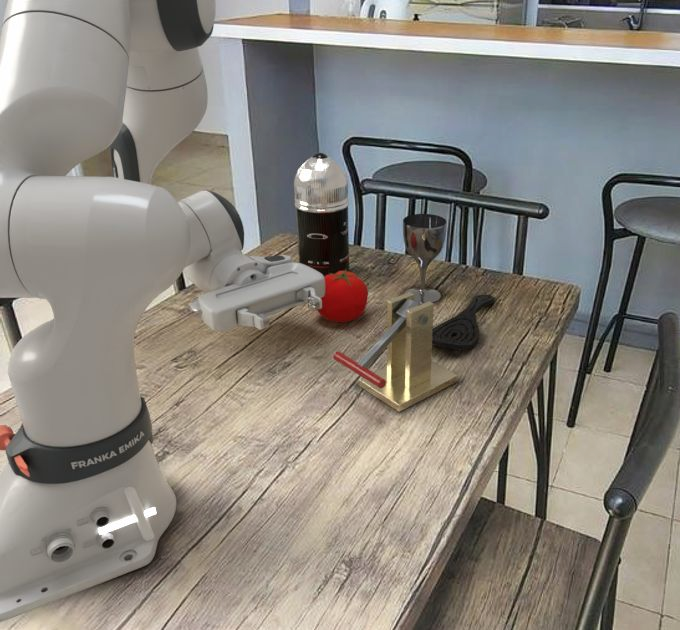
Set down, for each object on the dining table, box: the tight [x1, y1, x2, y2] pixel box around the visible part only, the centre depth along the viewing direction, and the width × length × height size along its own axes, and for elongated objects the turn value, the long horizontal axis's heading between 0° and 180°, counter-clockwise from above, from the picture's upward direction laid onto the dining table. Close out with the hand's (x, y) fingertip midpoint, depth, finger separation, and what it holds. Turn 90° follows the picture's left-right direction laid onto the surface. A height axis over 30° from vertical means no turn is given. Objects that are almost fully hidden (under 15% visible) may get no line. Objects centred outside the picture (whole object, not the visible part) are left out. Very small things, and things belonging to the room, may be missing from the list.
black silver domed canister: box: [293, 152, 350, 276], centre depth 131 cm, size 10×10×25 cm
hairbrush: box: [432, 294, 495, 351], centre depth 119 cm, size 8×4×25 cm
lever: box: [332, 299, 420, 388], centre depth 96 cm, size 13×10×2 cm
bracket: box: [358, 292, 459, 413], centre depth 100 cm, size 12×9×14 cm
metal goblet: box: [402, 213, 447, 305], centre depth 127 cm, size 8×8×15 cm
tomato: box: [316, 270, 369, 323], centre depth 120 cm, size 9×10×8 cm
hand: (292, 314), depth 101 cm, fingers open, 8 cm apart
